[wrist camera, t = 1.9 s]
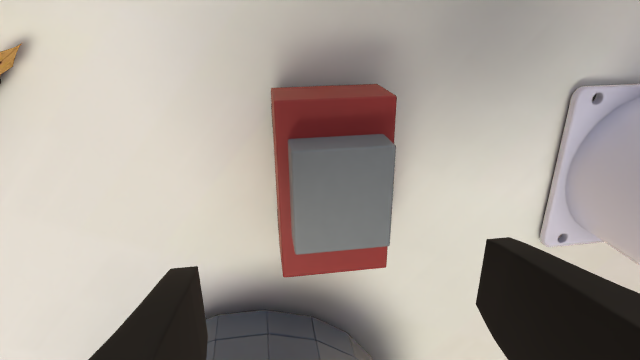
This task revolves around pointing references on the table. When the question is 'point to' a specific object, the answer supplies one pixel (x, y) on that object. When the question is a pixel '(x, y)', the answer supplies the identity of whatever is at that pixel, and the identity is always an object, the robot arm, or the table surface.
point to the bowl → (278, 338)
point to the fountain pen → (7, 59)
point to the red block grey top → (333, 176)
